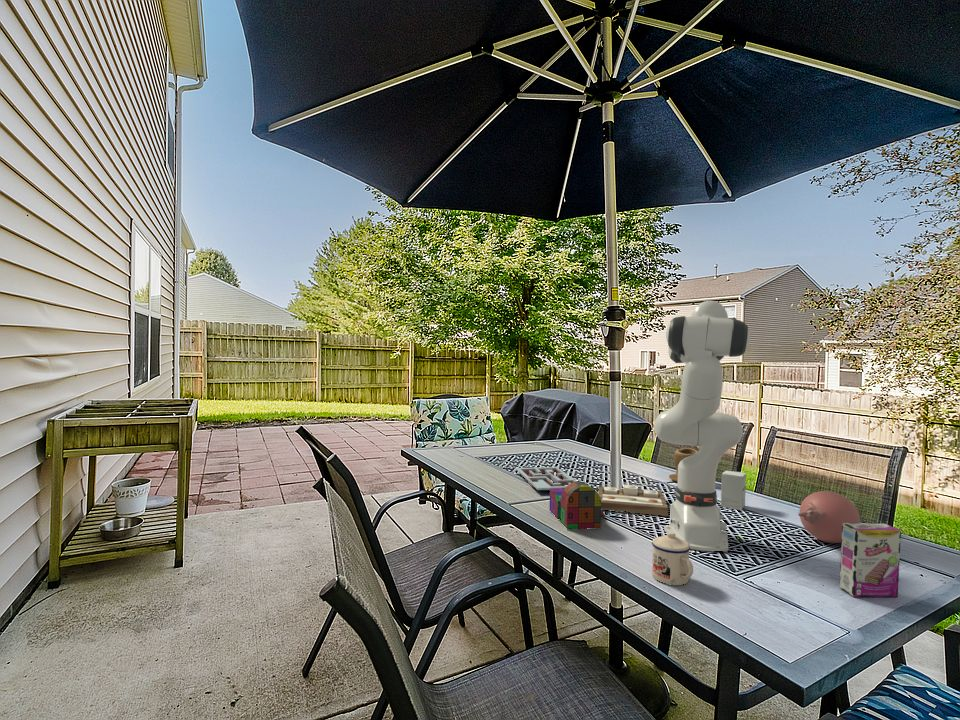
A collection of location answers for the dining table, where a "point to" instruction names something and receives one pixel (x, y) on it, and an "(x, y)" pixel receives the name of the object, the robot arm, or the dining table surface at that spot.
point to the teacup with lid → (671, 560)
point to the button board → (633, 502)
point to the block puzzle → (576, 506)
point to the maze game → (545, 477)
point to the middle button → (630, 490)
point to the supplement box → (733, 490)
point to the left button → (610, 490)
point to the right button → (650, 493)
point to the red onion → (827, 515)
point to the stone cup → (679, 456)
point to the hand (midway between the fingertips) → (705, 408)
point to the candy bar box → (870, 560)
